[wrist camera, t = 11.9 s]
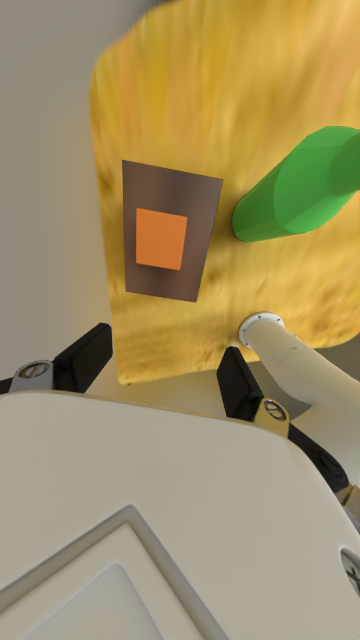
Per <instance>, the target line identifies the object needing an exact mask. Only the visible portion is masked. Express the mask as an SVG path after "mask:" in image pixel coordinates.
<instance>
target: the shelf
mask: <svg viewBox="0 0 360 640" xmlns="http://www.w3.org/2000/svg"><path fill="white" fill-rule="evenodd" d="M122 171H123V207H124V243H125V280H126V292H133V293H139V294H145V295H151V296H158V297H164V298H170V299H177V300H183V301H189V302H196V301H197V297H198V292H199V288H200V283H201V278H202V274H203V269H204V265H205V260H206V255H207V251H208V246H209V242H210V237H211V233H212V228H213V223H214V219H215V214H216V210H217V205H218V201H219V196H220V191H221V187H222V182H223V179H218V178H213V177H208V176H203V175H197V174H192V173H187V172H182V171H177V170H172V169H167V168H162V167H157V166H151V165H146V164H141V163H136V162H131V161H126V160H122ZM136 208H140V209H146V210H151V211H157V212H162V213H167V214H173V215H178V216H184V217H187V228H186V234H185V241H184V248H183V255H182V262H181V267H180V270H174V269H168V268H162V267H156V266H150V265H144V264H139V263H136Z"/></svg>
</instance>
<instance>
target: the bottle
mask: <svg viewBox="0 0 360 640" xmlns="http://www.w3.org/2000/svg"><path fill="white" fill-rule="evenodd" d="M358 190H360V130H358V129H354V128H349V127H345V126H327V127H325V128H322V129H320V130H318V131H316V132H314V133H312V134H310V135H308V136H307V137H306V138H305V139H304V140H303V141H302V142H301V143H300V144H299V145H297V146H296V147H295V148H294V149H293V151H292V152H291V153H290V154H289V155H288V156H286V157H285V158H284V159H283V160H282V161H281V162H280V163H279V164H278V165H277V166H276V167H275V168H274V169H273V170H271V171H270V172H269V173H268V174H267V175H266V176H265V177H264V178H263V179H262V180H261V181H260V182H259V183H258V184H257V185H255V186H254V187H253V188H252V189H251V190H250V191H249V192H248V193H247V194H246V195H245V196H244V197H243V198H242V199H241V200H240V201H239V203H238V205H237V206H236V208H235V210H234V214H233V217H232V228H233V231H234V234H235V235H236V236H237V237H238V239H240V240H242V241H244V242H255V241H261V240H267V239H273V238H279V237H284V236H290V235H296V234H302V233H306V232H308V231H311V230H314V229H317V228H319V227H320V226H322V225H323V224H325V223H326V222H327V221H329V220H330V219H332V218H333V217H334V216H335V215H336V214H337V213H338V211H339V210H340V209H341V208H342V207H343V206H344V205H345V204H346V202H347V201H348V200H349V199H350V198H351V197H352V196H353V195H354V193H355V192H356V191H358Z"/></svg>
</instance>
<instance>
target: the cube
mask: <svg viewBox="0 0 360 640" xmlns="http://www.w3.org/2000/svg"><path fill="white" fill-rule="evenodd" d="M186 228H187V217H184V216H178V215H173V214H167V213H162V212H157V211H151V210H146V209H140V208H136V263H139V264H144V265H150V266H156V267H162V268H168V269H174V270H180V267H181V262H182V255H183V248H184V241H185V234H186Z"/></svg>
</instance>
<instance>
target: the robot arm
mask: <svg viewBox="0 0 360 640" xmlns="http://www.w3.org/2000/svg"><path fill="white" fill-rule="evenodd" d="M239 339H240V341H241V342H242V344H243V345H244V346H246V347H248V348H250V349H253V350H254V352H255V353H256V354H257V356H258V357H259V359H260V360H261V361H262V363H263V364H264V366H265V367H266V368H267V370H268V371H269V373H270V374H271V375H272V377H273V378H274V380H275V381H276V382H277V384H278V385H279V386H280V388H281V389H282V390H283V391H284V392H286V393H287V394H289V395H290V396H292V397H294V398H296V399H298V400H301V401H303V402H307V403H309V404H312V407H311V408H310V409H309V410H307V411H306V412H304V414H302V415H300V416H298V417H297V418H295V419H293V420H291V421H290V418H289V415H288V413H287V411H286V410H285V409H284V408H283V406H282V405H280V404H279V403H278V402H277V401H275V400H273V399H270V398H264V396H263V394H262V391H261V390H260V388H259V386H258V384H257V382H256V380H255V378H254V377H253V375H252V373H251V371H250V369H249V367H248V366H247V364H246V362H245V360H244V358H243V356H242V355H241V353H240V351H239V349H238V348H237V347H232V346H230V347H229V348H226V351H225V353H224V356H223V358H222V360H221V363H220V365H219V368H218V370H217V379H218V383H219V387H220V391H221V396H222V400H223V404H224V408H225V412H226V416H227V417H223V416H218V415H212V414H207V413H201V412H195V411H189V410H183V409H177V408H171V407H165V406H159V405H152V404H147V403H141V402H134V401H128V400H122V399H115V398H109V397H103V396H97V395H89V394H84V393H85V392H86V390H87V389H88V388H89V386H90V385H91V384H92V382H93V381H94V380H95V378H96V377H97V376H98V374H99V373H100V372H101V370H102V369H103V368H104V366H105V365H106V364H107V362H108V361H109V360H110V358H111V357H112V354H113V349H112V330H111V326H109V324H106V323H99V324H98V325H97V326H95V327H94V328H93V329H91V330H90V331H89V332H87V333H86V334H85V335H84V336H82V337H81V338H80V339H78V340H77V341H76V342H74V343H73V344H72V345H71V346H69V347H68V348H67V349H65V350H64V351H63V352H61V353H60V354H59V355H58V356H56V357H55V359H54V360H53V361H52V362H51V361H48V360H39V361H34V362H31V363H29V364H26V365H24V366H23V367H21V368H20V369H18V371H16V373H15V375H14V377H12V378H9V379H5V380H1V381H0V640H360V382H358V381H357V380H355V379H353V378H352V377H351V376H349V375H347V374H346V373H345V372H343V371H342V370H340V369H339V368H338V367H336V366H335V365H333V364H332V363H330V362H329V361H328V360H327V359H325V358H324V357H322V356H321V355H320V354H318V353H317V352H316V351H314V350H313V349H312V348H310V347H309V346H308V345H306V344H305V343H304V342H302V341H301V340H300V339H298V338H297V337H296V335H295V334H292V333H290V332H289V331H288V330H286V329H285V328H284V323H283V320H282V319H281V318H280V317H279V316H277V315H276V314H274V313H271V312H260V313H257V314H254V315H252V316H250V317H249V318H247V319H246V320H245V321H244V322H243V324H242V325H241V327H240V329H239Z"/></svg>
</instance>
